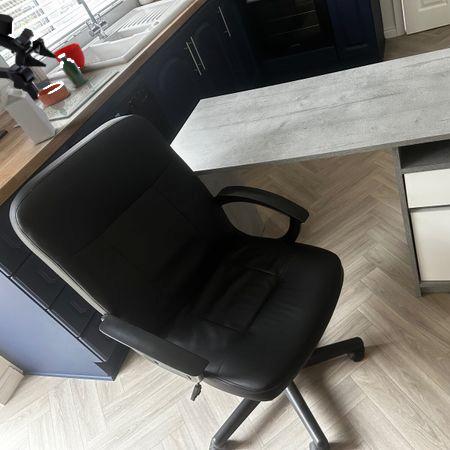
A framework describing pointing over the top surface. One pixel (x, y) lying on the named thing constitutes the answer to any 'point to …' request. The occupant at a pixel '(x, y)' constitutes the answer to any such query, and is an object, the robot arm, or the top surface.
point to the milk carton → (28, 115)
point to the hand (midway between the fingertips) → (51, 61)
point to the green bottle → (72, 71)
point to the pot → (53, 94)
